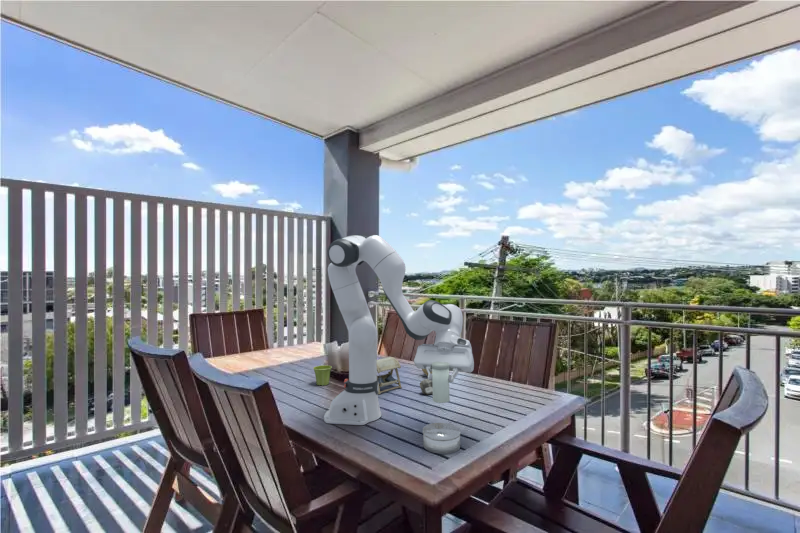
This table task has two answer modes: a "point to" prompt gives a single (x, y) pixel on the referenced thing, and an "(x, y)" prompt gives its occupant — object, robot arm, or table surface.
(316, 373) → the plant pot
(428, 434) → the round glass dish
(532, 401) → the table surface
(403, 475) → the table surface
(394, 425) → the table surface
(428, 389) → the stone
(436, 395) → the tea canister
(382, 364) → the swing bench
